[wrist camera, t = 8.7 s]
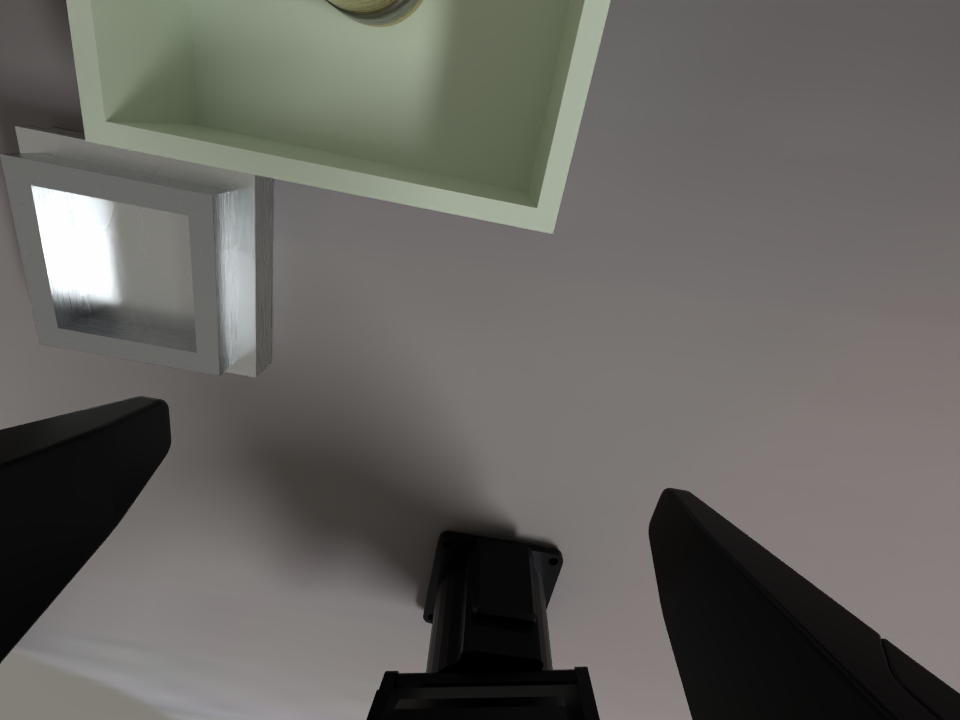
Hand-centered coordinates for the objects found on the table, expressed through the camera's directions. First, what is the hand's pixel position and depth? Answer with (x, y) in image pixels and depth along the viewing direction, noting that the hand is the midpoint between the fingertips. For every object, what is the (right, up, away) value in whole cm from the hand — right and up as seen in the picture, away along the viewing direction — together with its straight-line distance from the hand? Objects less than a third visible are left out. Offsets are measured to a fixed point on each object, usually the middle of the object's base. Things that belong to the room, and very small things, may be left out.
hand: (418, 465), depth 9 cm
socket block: (-11, +6, +11) cm, 17 cm away
